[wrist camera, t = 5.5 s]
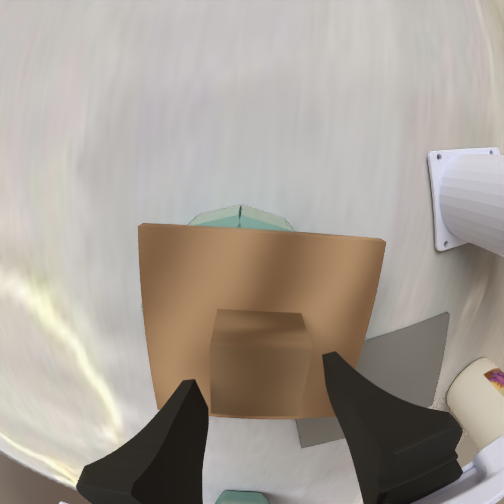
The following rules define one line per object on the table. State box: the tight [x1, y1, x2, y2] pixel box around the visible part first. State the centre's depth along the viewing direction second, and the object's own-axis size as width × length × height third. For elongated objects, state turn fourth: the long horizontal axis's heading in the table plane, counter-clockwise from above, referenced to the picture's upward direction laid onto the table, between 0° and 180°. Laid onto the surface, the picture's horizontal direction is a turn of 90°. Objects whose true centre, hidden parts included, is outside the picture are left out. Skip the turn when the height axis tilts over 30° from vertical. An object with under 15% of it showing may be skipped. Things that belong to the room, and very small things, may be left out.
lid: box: [138, 223, 386, 419], centre depth 15 cm, size 13×13×4 cm
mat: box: [296, 312, 449, 448], centre depth 24 cm, size 16×13×1 cm
